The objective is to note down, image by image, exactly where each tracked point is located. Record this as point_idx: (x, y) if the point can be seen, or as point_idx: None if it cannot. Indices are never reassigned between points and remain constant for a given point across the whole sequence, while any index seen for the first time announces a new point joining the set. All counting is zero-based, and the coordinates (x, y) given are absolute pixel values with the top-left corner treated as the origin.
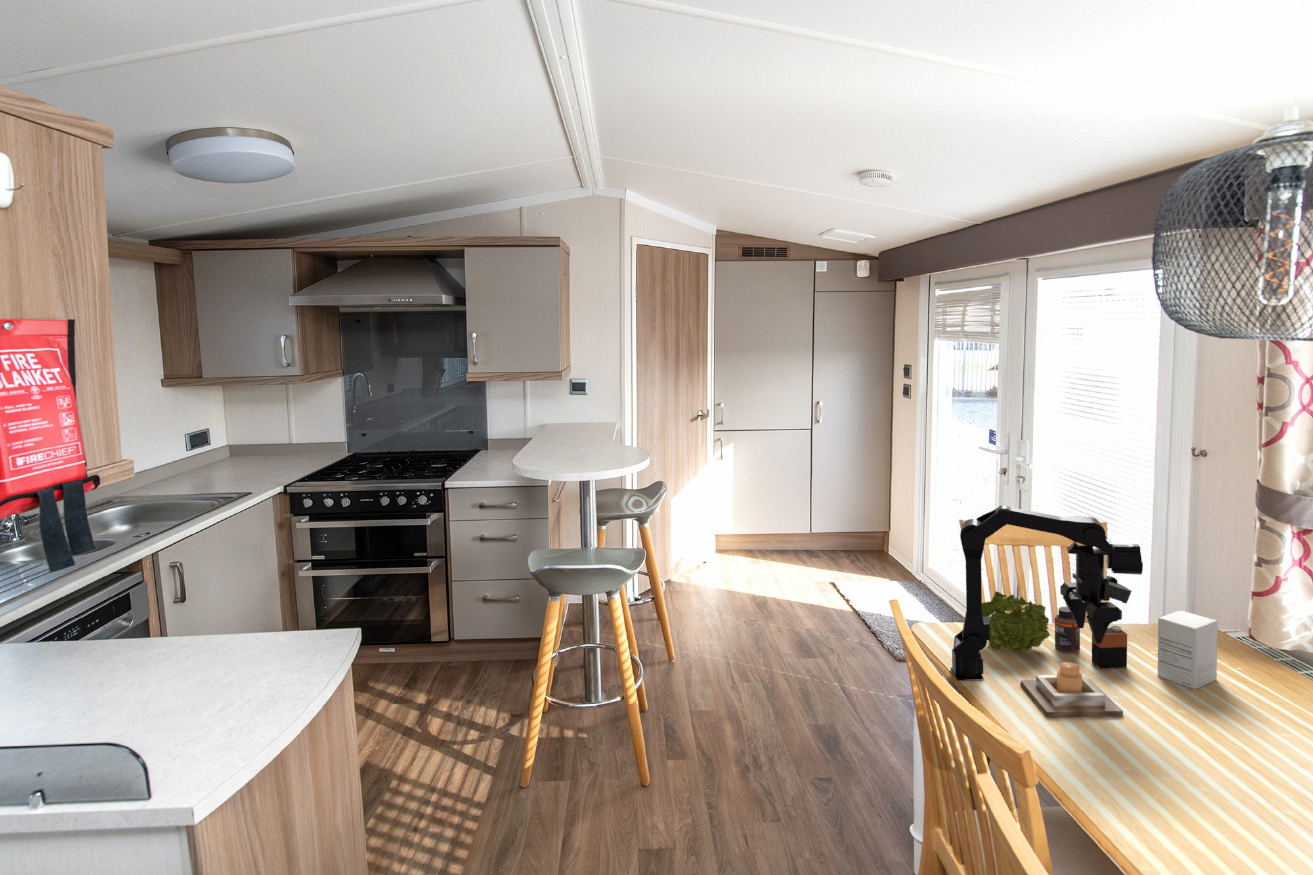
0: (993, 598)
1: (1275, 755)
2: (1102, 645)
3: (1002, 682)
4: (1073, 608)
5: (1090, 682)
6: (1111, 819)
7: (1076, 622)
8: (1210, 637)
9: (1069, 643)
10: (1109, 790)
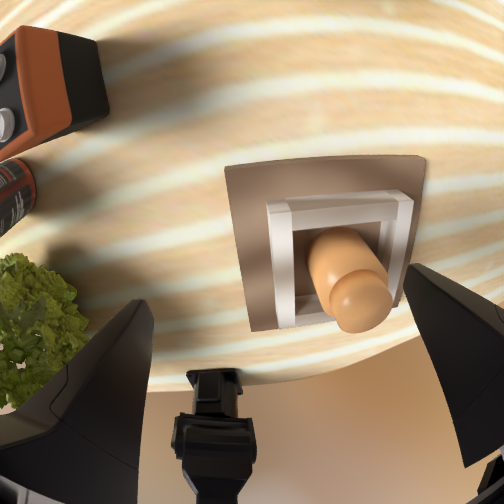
0: None
1: (500, 4)
2: (65, 116)
3: (241, 346)
4: (128, 459)
5: (334, 210)
6: None
7: (149, 361)
8: None
9: (19, 197)
10: None
